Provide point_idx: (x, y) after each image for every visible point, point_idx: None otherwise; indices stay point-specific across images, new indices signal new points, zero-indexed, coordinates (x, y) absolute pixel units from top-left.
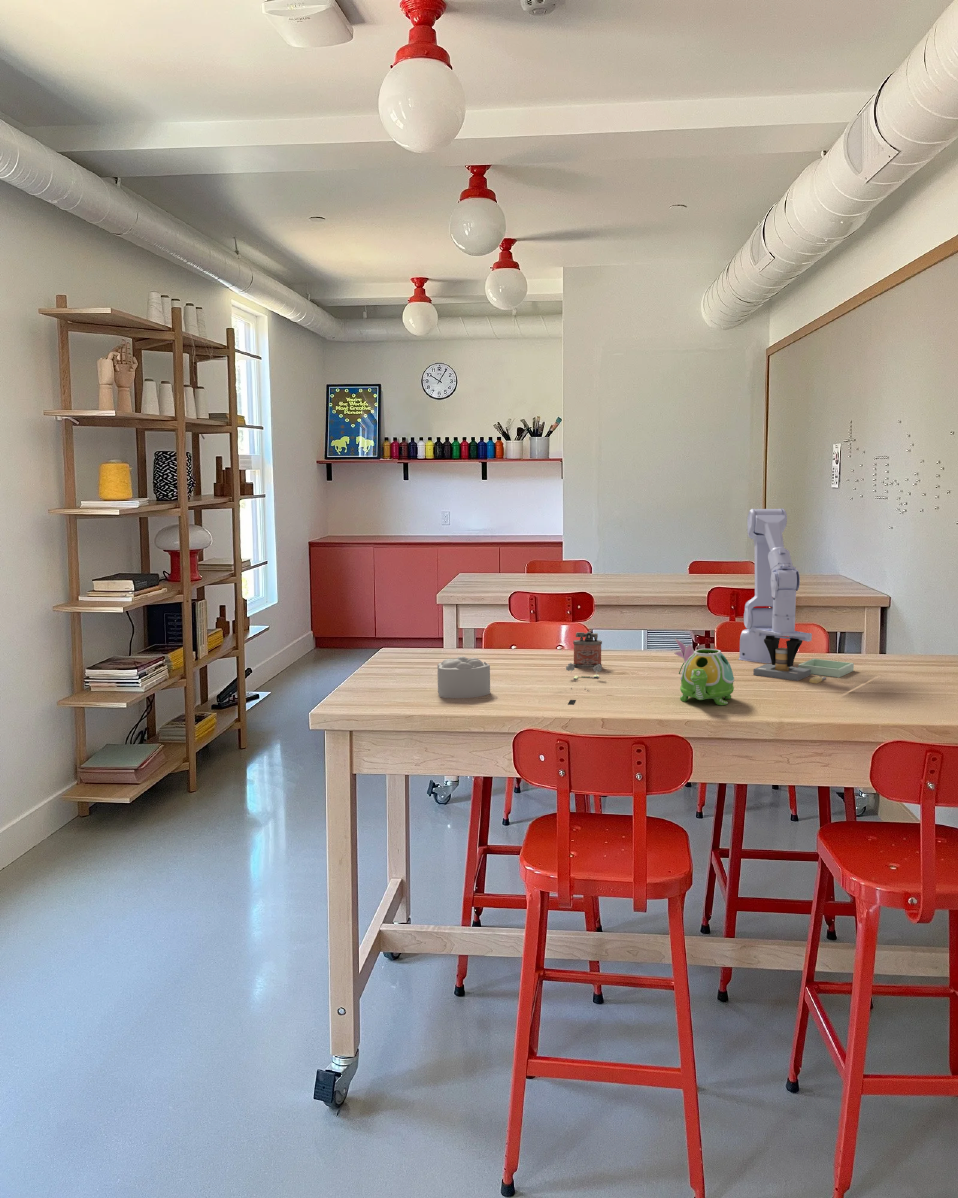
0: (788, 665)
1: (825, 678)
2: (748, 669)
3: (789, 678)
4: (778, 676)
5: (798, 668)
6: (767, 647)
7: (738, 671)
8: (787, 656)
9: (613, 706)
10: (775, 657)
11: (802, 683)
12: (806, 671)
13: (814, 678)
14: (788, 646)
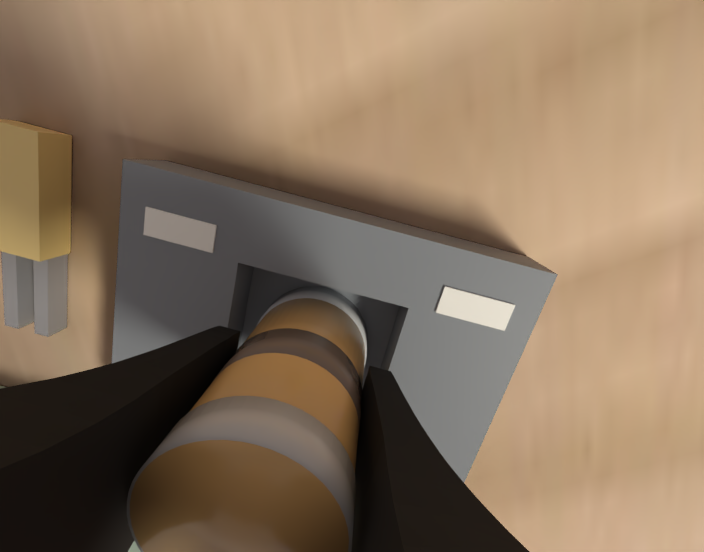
0: (223, 330)
1: (12, 312)
2: (570, 482)
3: (221, 179)
4: (314, 202)
5: None
6: (491, 519)
7: (649, 398)
8: (196, 402)
9: None
10: (354, 416)
11: (122, 134)
12: (114, 348)
13: (16, 181)
14: (9, 442)
